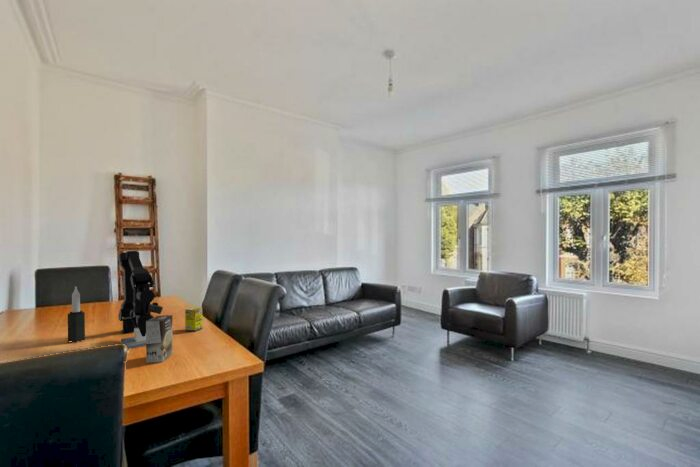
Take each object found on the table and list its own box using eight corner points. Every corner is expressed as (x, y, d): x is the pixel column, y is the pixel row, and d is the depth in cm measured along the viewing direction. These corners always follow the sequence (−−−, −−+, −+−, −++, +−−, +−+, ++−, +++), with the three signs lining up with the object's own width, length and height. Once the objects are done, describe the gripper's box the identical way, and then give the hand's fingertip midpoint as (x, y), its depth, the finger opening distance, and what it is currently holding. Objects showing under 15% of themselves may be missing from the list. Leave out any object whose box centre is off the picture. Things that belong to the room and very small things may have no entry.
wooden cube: (134, 339, 159) (134, 328, 159) (146, 336, 163) (146, 326, 163) (136, 341, 156) (136, 330, 156) (149, 339, 159) (149, 328, 159)
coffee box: (163, 362, 134) (162, 320, 134) (145, 363, 134) (145, 321, 134) (173, 354, 144) (172, 314, 143) (156, 354, 143) (156, 315, 143)
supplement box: (195, 331, 174) (195, 310, 174) (184, 331, 176) (184, 309, 176) (202, 328, 180) (202, 307, 180) (192, 328, 181) (192, 306, 181)
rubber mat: (120, 341, 160) (120, 338, 160) (155, 335, 169) (155, 332, 169) (126, 349, 149) (126, 346, 149) (162, 342, 158) (162, 339, 158)
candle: (86, 339, 163) (85, 285, 162) (74, 343, 158) (73, 287, 158) (78, 338, 164) (77, 285, 164) (66, 342, 159) (65, 287, 159)
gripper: (166, 300, 157) (166, 335, 157) (156, 294, 171) (156, 326, 171) (137, 304, 150) (138, 340, 150) (129, 297, 164) (129, 331, 164)
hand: (141, 334), depth 159 cm, fingers open, 8 cm apart
